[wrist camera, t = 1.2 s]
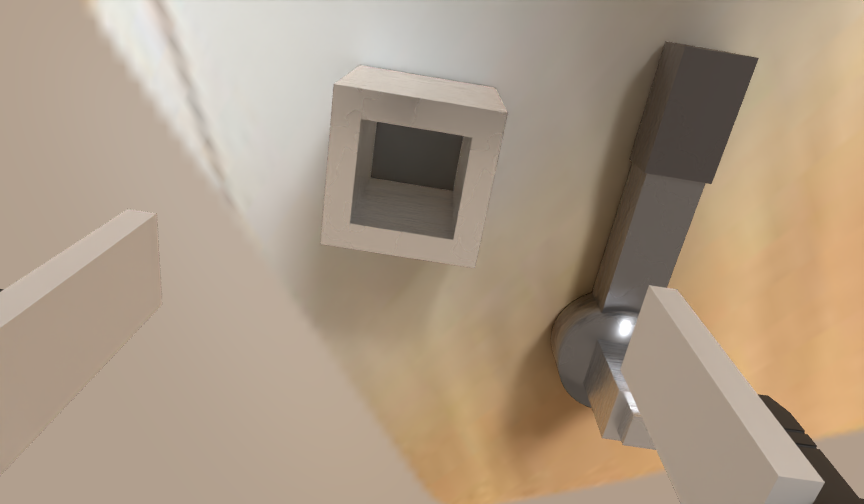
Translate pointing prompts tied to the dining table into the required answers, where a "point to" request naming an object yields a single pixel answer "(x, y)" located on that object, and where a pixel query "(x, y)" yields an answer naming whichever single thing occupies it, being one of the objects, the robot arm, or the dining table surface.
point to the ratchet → (649, 226)
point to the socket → (401, 202)
